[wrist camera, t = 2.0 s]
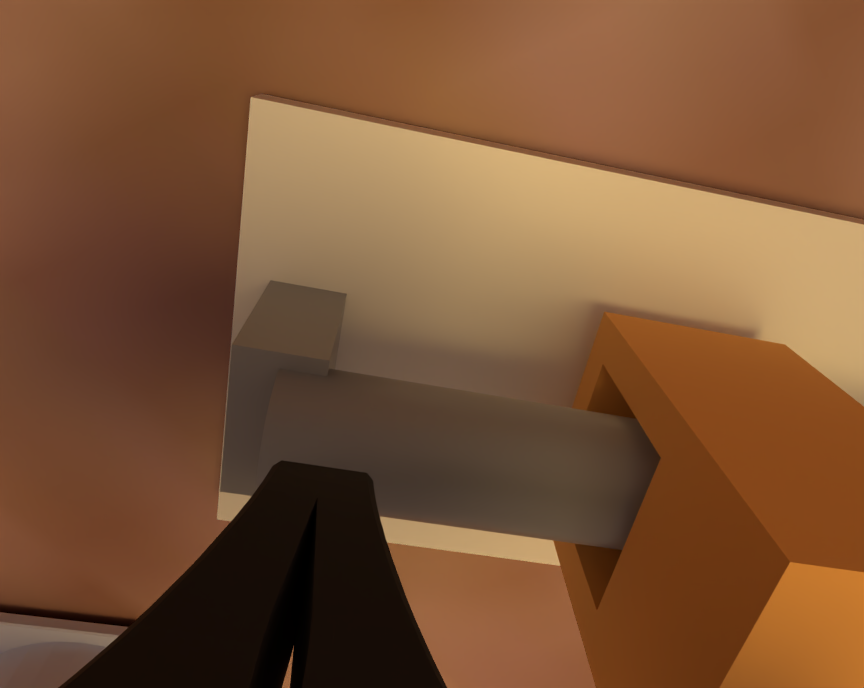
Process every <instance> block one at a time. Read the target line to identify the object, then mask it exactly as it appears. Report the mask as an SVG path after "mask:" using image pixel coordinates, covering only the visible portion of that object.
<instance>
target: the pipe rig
mask: <svg viewBox="0 0 864 688" xmlns="http://www.w3.org/2000/svg"><path fill="white" fill-rule="evenodd" d="M604 312H610V313H615V314H621V315H626V316H632V317H637V318H643V319H648V320H654V321H659V322H665V323H670V324H675V325H681V326H686V327H692V328H697V329H703V330H708V331H714V332H719V333H725V334H730V335H736V336H741V337H747V338H752V339H758V340H763V341H769V342H774V343H780V344H785V345H786V346H788V347H789V348H790V349H791V350H793V351H794V352H795V353H796V354H798V355H799V356H800V357H802V358H803V359H804V360H805V361H807V362H808V363H809V364H810V365H812V366H813V367H814V368H815V369H817V370H818V371H819V372H821V373H822V374H823V375H824V376H826V377H827V378H828V379H829V380H831V381H832V382H833V383H835V384H836V385H837V386H838V387H840V388H841V389H842V390H843V391H845V392H846V393H847V394H849V395H850V396H851V397H852V398H854V399H855V400H856V401H857V402H859V403H860V404H861V405H863V406H864V219H859V218H855V217H850V216H845V215H840V214H835V213H831V212H826V211H821V210H816V209H811V208H807V207H802V206H797V205H792V204H788V203H783V202H778V201H773V200H768V199H764V198H759V197H754V196H749V195H745V194H740V193H735V192H730V191H725V190H721V189H716V188H711V187H706V186H701V185H697V184H692V183H687V182H682V181H678V180H673V179H668V178H663V177H658V176H654V175H649V174H644V173H639V172H635V171H630V170H625V169H620V168H615V167H611V166H606V165H601V164H596V163H591V162H587V161H582V160H577V159H572V158H568V157H563V156H558V155H553V154H548V153H544V152H539V151H534V150H529V149H525V148H520V147H515V146H510V145H505V144H501V143H496V142H491V141H486V140H482V139H477V138H472V137H467V136H462V135H458V134H453V133H448V132H443V131H438V130H434V129H429V128H424V127H419V126H415V125H410V124H405V123H400V122H395V121H391V120H386V119H381V118H376V117H372V116H367V115H362V114H357V113H352V112H348V111H343V110H338V109H333V108H328V107H324V106H319V105H314V104H309V103H305V102H300V101H295V100H290V99H285V98H281V97H276V96H271V95H266V94H259V95H256V96H252V97H251V99H250V112H249V124H248V137H247V149H246V162H245V174H244V187H243V199H242V212H241V224H240V237H239V249H238V261H237V274H236V286H235V299H234V311H233V324H232V336H231V349H230V361H229V374H228V386H227V399H226V411H225V424H224V436H223V449H222V461H221V474H220V486H219V499H218V511H217V520H224V521H232V520H233V519H234V518H235V516H236V515H237V514H238V513H239V511H240V510H241V509H242V508H243V506H244V505H245V504H246V503H247V502H248V500H249V499H250V498H251V496H252V495H253V494H254V492H255V491H256V490H257V488H258V487H259V486H260V484H261V483H262V481H263V480H264V478H265V477H266V476H267V474H268V472H269V471H270V469H271V467H272V466H273V465H275V464H276V463H278V462H280V461H281V460H283V461H290V462H297V463H304V464H310V465H317V466H324V467H331V468H338V469H345V470H352V471H358V472H365V473H368V475H369V476H370V477H371V478H372V480H373V483H374V492H375V498H376V503H377V508H378V512H379V516H380V520H381V524H382V527H383V531H384V534H385V538H386V541H387V542H388V543H395V544H403V545H410V546H418V547H425V548H432V549H440V550H447V551H455V552H462V553H470V554H477V555H484V556H492V557H499V558H507V559H514V560H522V561H529V562H536V563H544V564H551V565H559V566H560V562H559V559H558V556H557V552H556V549H555V545H554V542H553V541H560V542H568V543H575V544H582V545H589V546H596V547H604V548H611V549H618V550H623V547H624V545H625V542H626V540H627V538H628V535H629V533H630V531H631V528H632V526H633V523H634V521H635V519H636V516H637V514H638V511H639V509H640V507H641V504H642V502H643V499H644V497H645V495H646V492H647V490H648V487H649V485H650V483H651V480H652V478H653V475H654V473H655V471H656V468H657V466H658V464H659V461H660V459H661V457H660V456H659V454H658V452H657V451H656V449H655V448H654V446H653V444H652V443H651V441H650V439H649V438H648V436H647V435H646V433H645V431H644V430H643V428H642V426H641V425H640V423H639V422H638V420H637V419H635V418H629V417H623V416H617V415H610V414H604V413H598V412H592V411H586V410H580V409H574V408H572V406H573V403H574V400H575V397H576V394H577V391H578V388H579V385H580V382H581V379H582V376H583V373H584V370H585V367H586V364H587V361H588V358H589V355H590V352H591V349H592V346H593V343H594V340H595V337H596V334H597V331H598V328H599V325H600V323H601V320H602V317H603V314H604Z"/></svg>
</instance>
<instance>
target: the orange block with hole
mask: <svg viewBox="0 0 864 688" xmlns="http://www.w3.org/2000/svg"><path fill="white" fill-rule="evenodd" d="M572 408H574V409H580V410H586V411H592V412H598V413H604V414H610V415H617V416H623V417H629V418H635V419H637V420H638V422H639V423H640V425H641V426H642V428H643V430H644V431H645V433H646V435H647V436H648V438H649V439H650V441H651V443H652V444H653V446H654V448H655V449H656V451H657V452H658V454H659V456H660V457H661V459H660V461H659V464H658V466H657V468H656V471H655V473H654V475H653V478H652V480H651V483H650V485H649V487H648V490H647V492H646V495H645V497H644V499H643V502H642V504H641V507H640V509H639V511H638V514H637V516H636V519H635V521H634V523H633V526H632V528H631V531H630V533H629V535H628V538H627V540H626V542H625V545H624V547H623V550H618V549H611V548H604V547H596V546H589V545H582V544H575V543H568V542H560V541H553V542H554V545H555V549H556V552H557V556H558V559H559V562H560V566H561V569H562V573H563V576H564V580H565V583H566V586H567V590H568V593H569V597H570V600H571V604H572V607H573V610H574V614H575V617H576V621H577V624H578V628H579V631H580V634H581V638H582V641H583V645H584V648H585V651H586V655H587V658H588V662H589V665H590V669H591V672H592V675H593V679H594V682H595V686H596V688H864V406H863V405H861V404H860V403H859V402H857V401H856V400H855V399H854V398H852V397H851V396H850V395H849V394H847V393H846V392H845V391H843V390H842V389H841V388H840V387H838V386H837V385H836V384H835V383H833V382H832V381H831V380H829V379H828V378H827V377H826V376H824V375H823V374H822V373H821V372H819V371H818V370H817V369H815V368H814V367H813V366H812V365H810V364H809V363H808V362H807V361H805V360H804V359H803V358H802V357H800V356H799V355H798V354H796V353H795V352H794V351H793V350H791V349H790V348H789V347H788V346H786V345H785V344H780V343H774V342H769V341H763V340H758V339H752V338H747V337H741V336H736V335H730V334H725V333H719V332H714V331H708V330H703V329H697V328H692V327H686V326H681V325H675V324H670V323H665V322H659V321H654V320H648V319H643V318H637V317H632V316H626V315H621V314H615V313H610V312H604V314H603V317H602V320H601V323H600V325H599V328H598V331H597V334H596V337H595V340H594V343H593V346H592V349H591V352H590V355H589V358H588V361H587V364H586V367H585V370H584V373H583V376H582V379H581V382H580V385H579V388H578V391H577V394H576V397H575V400H574V403H573V406H572Z"/></svg>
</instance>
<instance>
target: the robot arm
mask: <svg viewBox="0 0 864 688" xmlns="http://www.w3.org/2000/svg"><path fill="white" fill-rule="evenodd" d="M293 646H294V652H293V662H292V672H291V683H290V688H447V687H446V685H445V683H444V681H443V678H442V676H441V674H440V672H439V670H438V668H437V666H436V664H435V662H434V660H433V658H432V656H431V654H430V652H429V649H428V647H427V645H426V643H425V640H424V638H423V636H422V634H421V631H420V629H419V627H418V624H417V622H416V620H415V618H414V615H413V613H412V610H411V608H410V605H409V603H408V600H407V598H406V595H405V593H404V590H403V587H402V585H401V582H400V579H399V576H398V574H397V571H396V568H395V565H394V562H393V560H392V557H391V554H390V551H389V548H388V544H387V541H386V538H385V534H384V531H383V527H382V524H381V520H380V516H379V512H378V508H377V503H376V498H375V492H374V483H373V480H372V478H371V477H370V476H369V475H368V473H365V472H358V471H352V470H345V469H338V468H331V467H324V466H317V465H310V464H304V463H297V462H290V461H283V460H281V461H280V462H278V463H276V464H275V465H273V466H272V467H271V469H270V471H269V472H268V474H267V476H266V477H265V478H264V480H263V481H262V483H261V484H260V486H259V487H258V488H257V490H256V491H255V492H254V494H253V495H252V496H251V498H250V499H249V500H248V502H247V503H246V504H245V505H244V506H243V508H242V509H241V510H240V511H239V513H238V514H237V515H236V516H235V518H234V519H233V520H232V521H231V522H230V523H229V525H228V526H227V527H226V528H225V529H224V530H223V531H222V532H221V534H220V535H219V536H218V537H217V538H216V539H215V540H214V541H213V543H212V544H211V545H210V546H209V547H208V548H207V549H206V550H205V552H204V553H203V554H202V555H201V556H200V557H199V558H198V559H197V560H196V561H195V562H194V564H193V565H192V566H191V567H190V568H189V569H188V570H187V571H186V572H185V573H184V574H183V575H182V576H181V577H180V578H179V579H178V580H177V581H176V582H175V583H174V584H173V585H172V586H171V587H170V588H169V589H168V590H167V591H166V592H165V593H164V594H163V595H162V596H161V597H160V598H159V599H158V600H157V601H156V602H155V603H154V604H153V605H152V606H151V607H150V608H149V609H148V610H146V611H145V612H144V613H143V614H142V615H141V616H140V617H139V618H138V619H137V620H136V621H135V622H134V623H133V624H131V625H130V626H129V627H125V626H116V625H107V624H99V623H90V622H81V621H73V620H64V619H55V618H46V617H38V616H29V615H20V614H11V613H3V612H0V688H282V685H283V682H284V678H285V675H286V671H287V668H288V664H289V661H290V657H291V653H292V650H293Z"/></svg>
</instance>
